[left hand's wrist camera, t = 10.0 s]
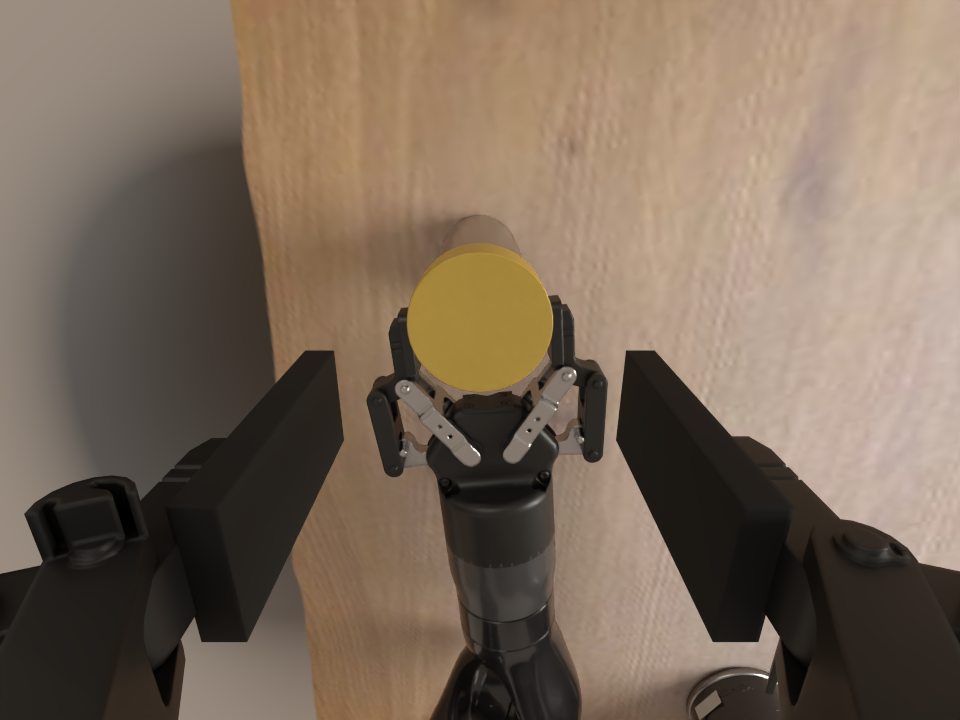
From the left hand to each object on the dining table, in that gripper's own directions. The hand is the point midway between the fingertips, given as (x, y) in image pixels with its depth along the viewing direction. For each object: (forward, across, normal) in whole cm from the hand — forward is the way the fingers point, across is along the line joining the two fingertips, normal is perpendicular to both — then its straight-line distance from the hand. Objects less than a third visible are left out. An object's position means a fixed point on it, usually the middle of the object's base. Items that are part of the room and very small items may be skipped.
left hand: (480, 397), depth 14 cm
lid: (+7, 0, 0) cm, 7 cm away
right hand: (+16, 0, +2) cm, 16 cm away
